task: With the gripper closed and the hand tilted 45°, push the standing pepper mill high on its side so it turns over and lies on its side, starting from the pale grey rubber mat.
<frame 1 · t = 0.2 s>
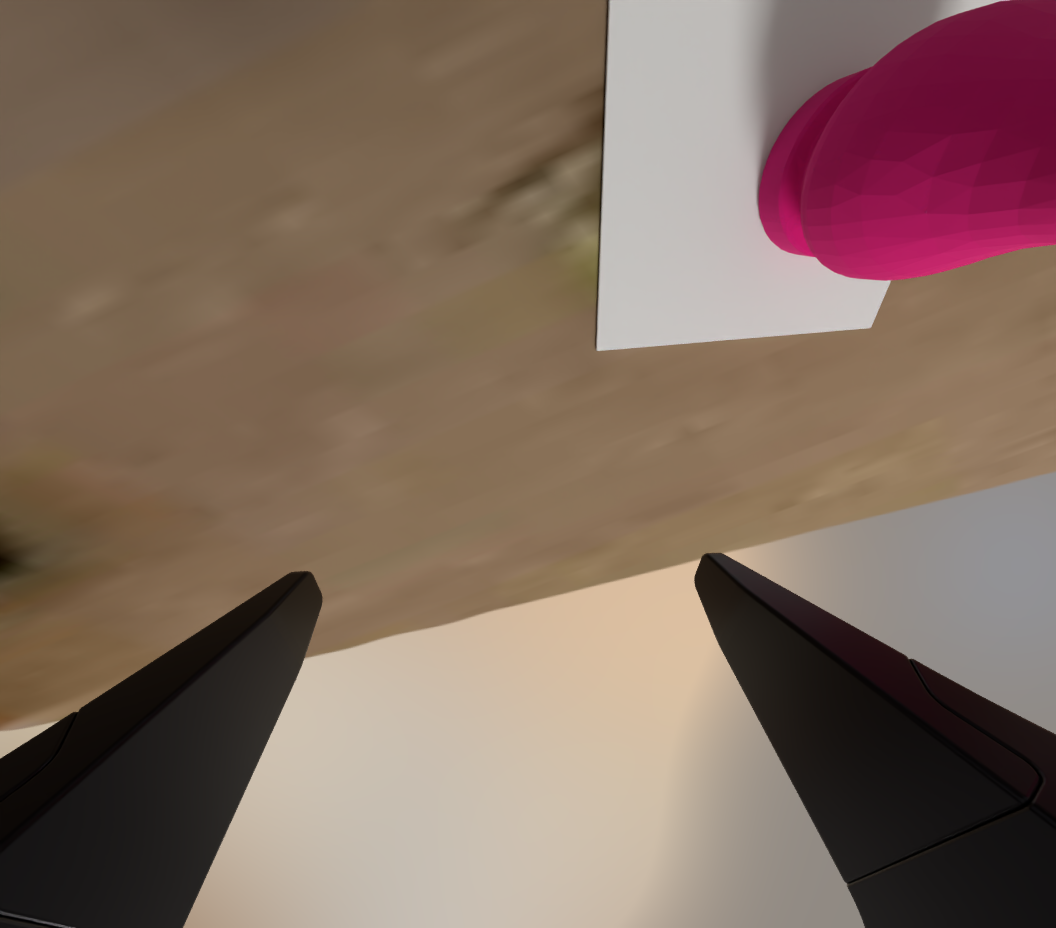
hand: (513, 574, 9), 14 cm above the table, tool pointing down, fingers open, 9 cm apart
pepper mill: (825, 174, 17), resting on rubber mat
rubber mat: (792, 84, 15), on the table
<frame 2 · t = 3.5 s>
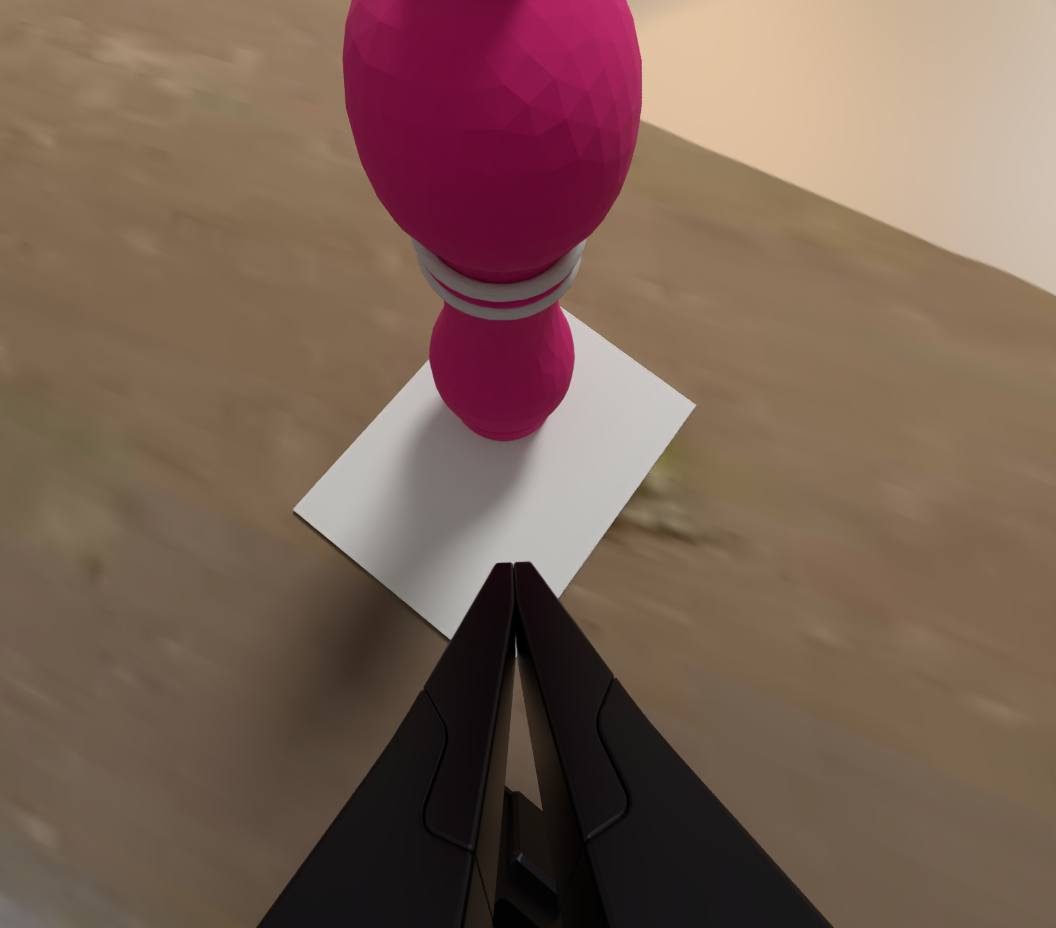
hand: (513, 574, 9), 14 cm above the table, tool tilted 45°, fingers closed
pepper mill: (503, 394, 24), resting on rubber mat
rubber mat: (505, 455, 23), on the table
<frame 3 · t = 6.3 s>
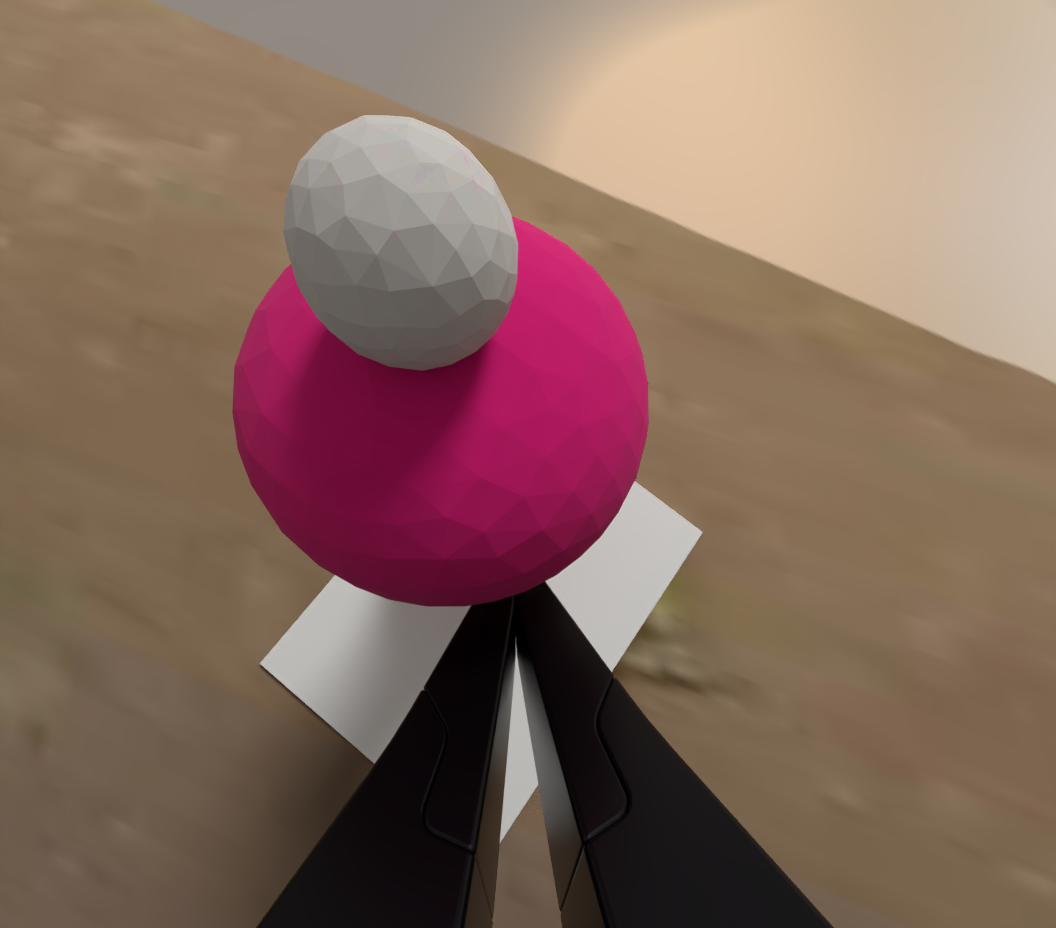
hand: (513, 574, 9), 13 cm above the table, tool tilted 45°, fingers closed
pepper mill: (493, 522, 22), resting on rubber mat, touching gripper
rubber mat: (494, 593, 21), on the table
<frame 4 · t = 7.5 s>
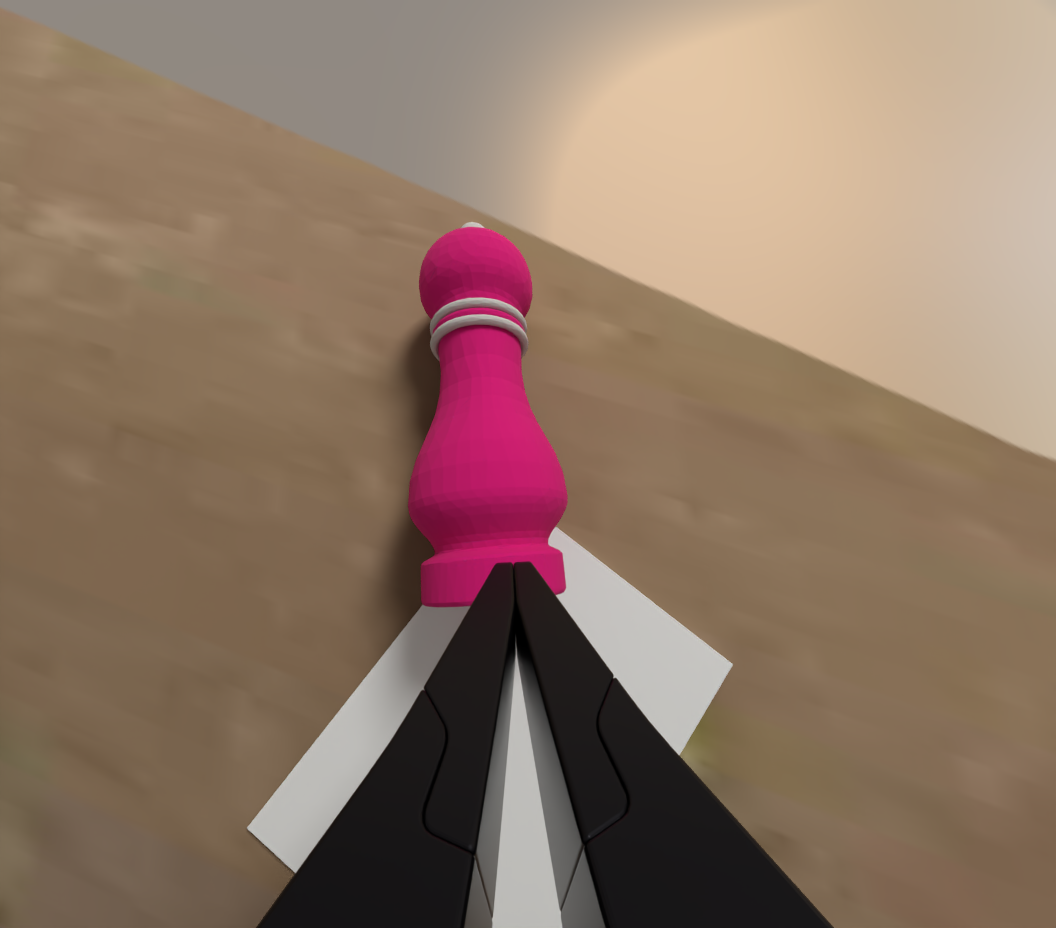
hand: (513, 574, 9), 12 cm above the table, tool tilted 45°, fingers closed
pepper mill: (495, 602, 17), point 4 cm above the table, touching rubber mat
rubber mat: (506, 738, 19), on the table
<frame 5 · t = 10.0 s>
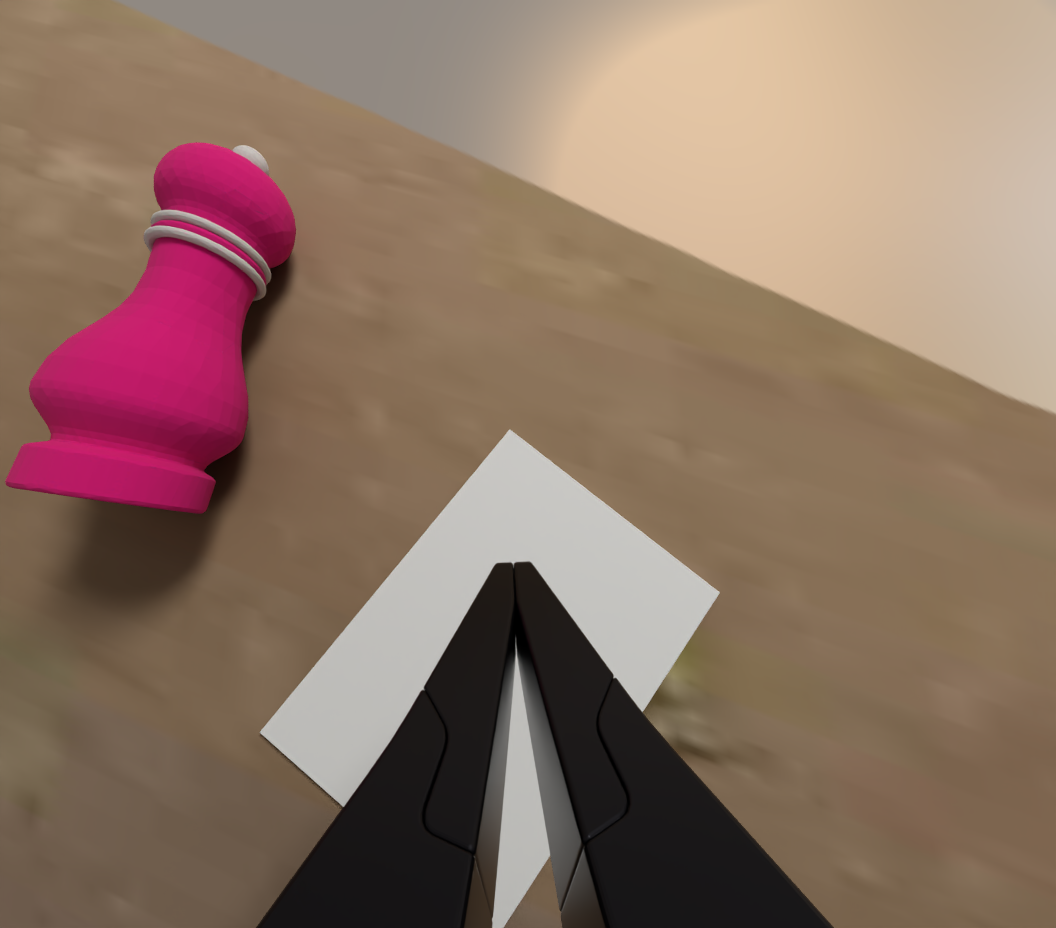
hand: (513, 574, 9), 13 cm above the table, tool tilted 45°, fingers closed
pepper mill: (115, 506, 17), point 4 cm above the table
rubber mat: (503, 657, 20), on the table
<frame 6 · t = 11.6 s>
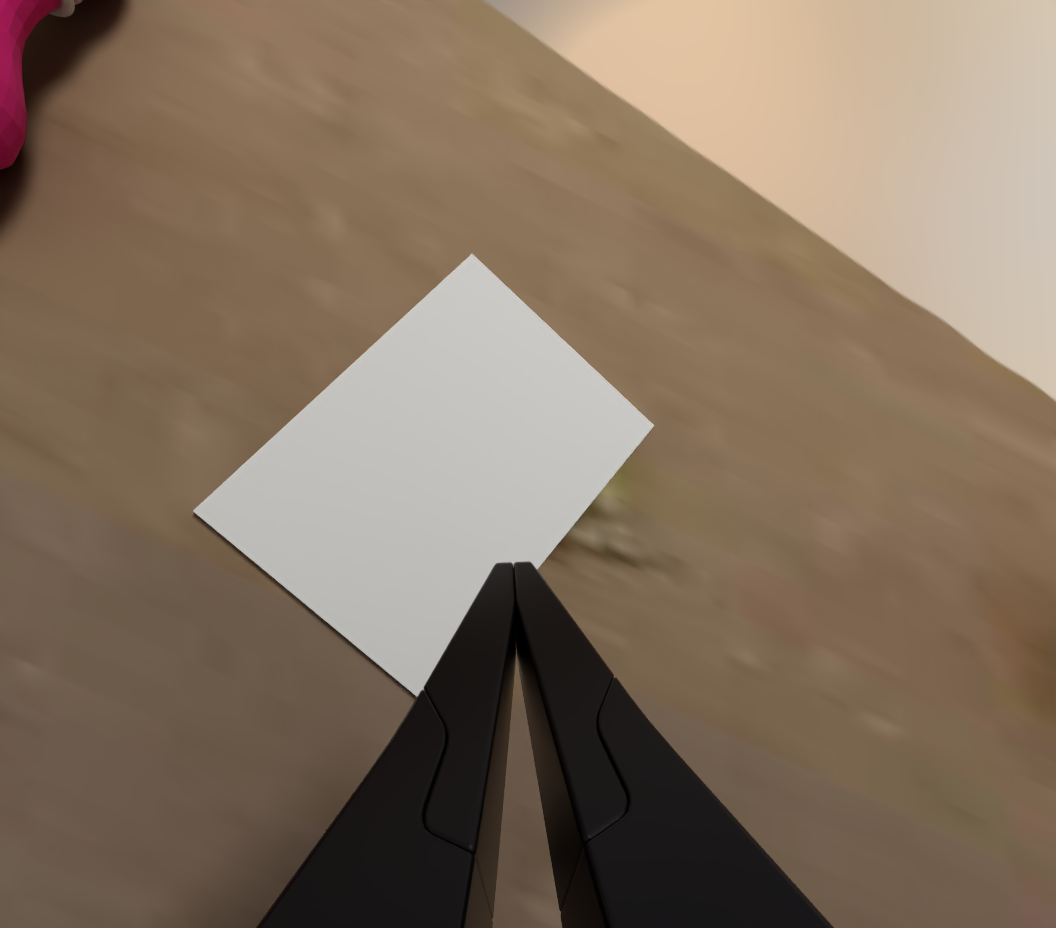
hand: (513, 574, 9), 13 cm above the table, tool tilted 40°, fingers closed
rubber mat: (451, 463, 21), on the table
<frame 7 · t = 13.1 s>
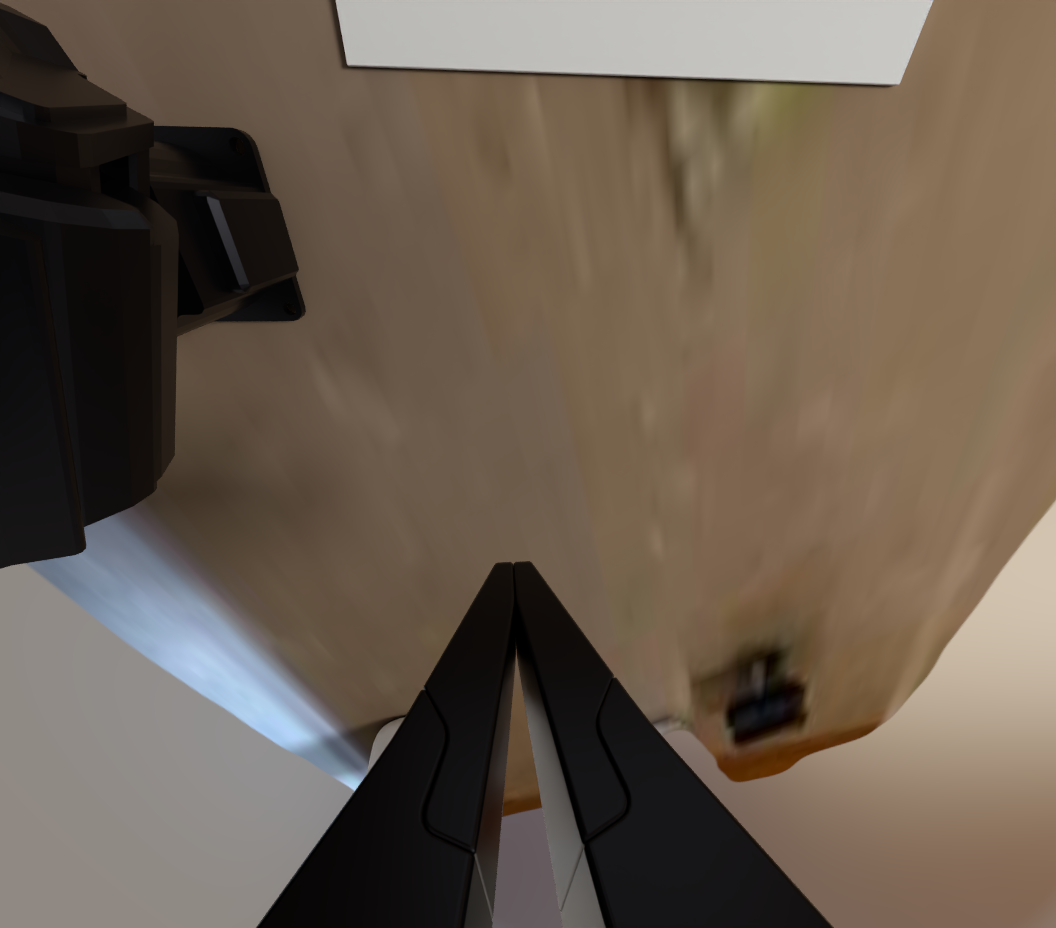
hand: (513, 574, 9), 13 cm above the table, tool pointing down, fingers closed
wine bottle: (421, 729, 42), on the table
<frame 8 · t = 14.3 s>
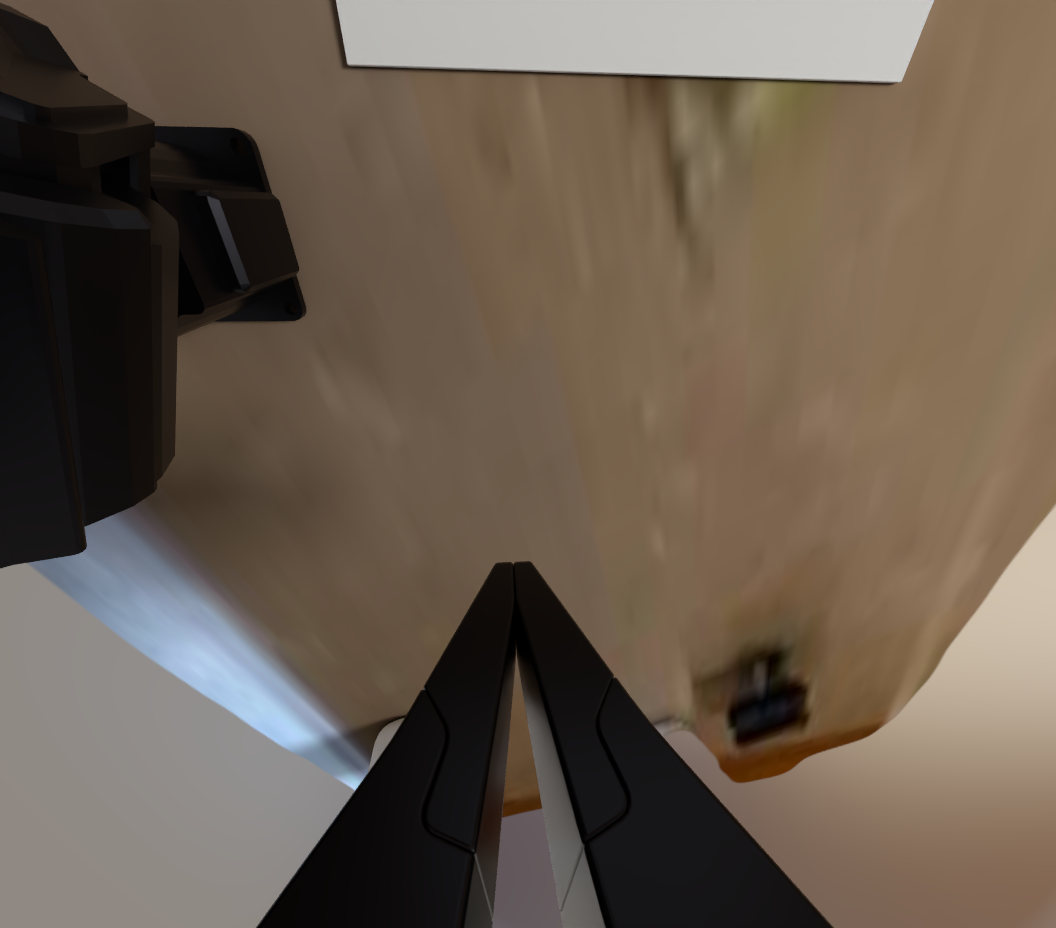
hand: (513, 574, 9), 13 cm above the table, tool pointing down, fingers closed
wine bottle: (423, 730, 42), on the table
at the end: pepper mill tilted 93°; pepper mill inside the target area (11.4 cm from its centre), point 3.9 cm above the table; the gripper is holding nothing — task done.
